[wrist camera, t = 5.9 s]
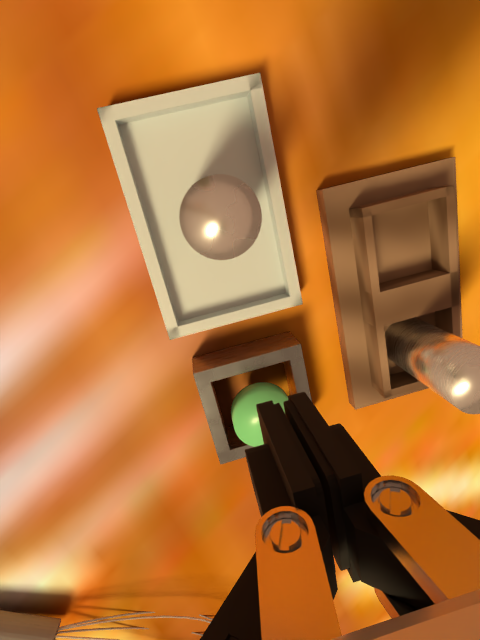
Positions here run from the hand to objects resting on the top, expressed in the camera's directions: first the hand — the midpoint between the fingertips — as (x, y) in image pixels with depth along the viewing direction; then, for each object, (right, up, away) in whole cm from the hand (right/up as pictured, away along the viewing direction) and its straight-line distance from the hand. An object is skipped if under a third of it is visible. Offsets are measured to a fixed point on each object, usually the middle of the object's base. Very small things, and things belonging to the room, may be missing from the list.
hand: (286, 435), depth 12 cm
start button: (0, -2, +17) cm, 17 cm away
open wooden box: (-1, -2, +18) cm, 18 cm away
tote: (-4, +11, +14) cm, 18 cm away
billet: (-4, +11, +13) cm, 17 cm away
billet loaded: (+12, +2, +17) cm, 21 cm away
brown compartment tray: (+11, +6, +17) cm, 21 cm away
